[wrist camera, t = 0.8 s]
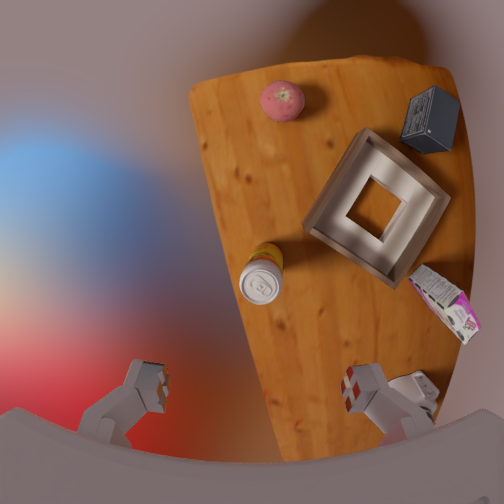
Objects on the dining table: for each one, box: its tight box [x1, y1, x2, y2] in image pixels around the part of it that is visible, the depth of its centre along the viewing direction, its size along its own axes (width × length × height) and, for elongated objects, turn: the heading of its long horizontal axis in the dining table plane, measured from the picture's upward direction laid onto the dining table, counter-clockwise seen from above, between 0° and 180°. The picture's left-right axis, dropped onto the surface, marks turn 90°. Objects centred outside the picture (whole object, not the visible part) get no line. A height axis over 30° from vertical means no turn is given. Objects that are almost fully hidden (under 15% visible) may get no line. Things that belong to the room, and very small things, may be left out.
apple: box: [260, 80, 305, 122], centre depth 40 cm, size 7×7×8 cm
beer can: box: [239, 243, 283, 305], centre depth 45 cm, size 6×6×15 cm
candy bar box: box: [408, 263, 481, 344], centre depth 41 cm, size 11×5×16 cm, turn 47°
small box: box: [400, 85, 460, 154], centre depth 36 cm, size 11×6×10 cm, turn 161°
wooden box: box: [302, 127, 451, 290], centre depth 44 cm, size 20×20×7 cm
